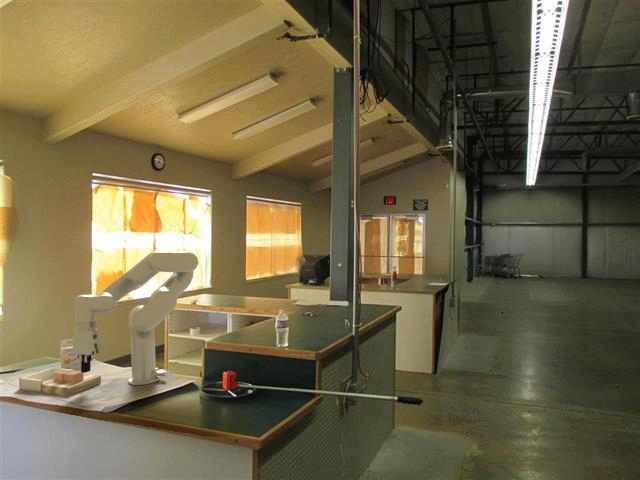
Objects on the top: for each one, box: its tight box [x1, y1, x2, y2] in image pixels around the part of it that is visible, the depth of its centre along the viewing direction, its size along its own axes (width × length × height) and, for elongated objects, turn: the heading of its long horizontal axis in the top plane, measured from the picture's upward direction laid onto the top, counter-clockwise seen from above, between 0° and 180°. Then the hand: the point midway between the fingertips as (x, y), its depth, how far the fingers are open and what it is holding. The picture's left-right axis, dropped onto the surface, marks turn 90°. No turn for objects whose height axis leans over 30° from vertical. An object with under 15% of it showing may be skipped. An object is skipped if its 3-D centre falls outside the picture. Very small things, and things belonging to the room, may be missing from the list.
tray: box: [18, 367, 74, 393], centre depth 206 cm, size 12×16×4 cm
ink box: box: [59, 338, 81, 371], centre depth 223 cm, size 8×5×15 cm, turn 123°
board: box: [40, 373, 102, 397], centre depth 201 cm, size 15×16×3 cm
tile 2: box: [64, 371, 84, 383], centre depth 200 cm, size 5×5×3 cm
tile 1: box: [54, 369, 73, 382], centre depth 202 cm, size 5×5×3 cm
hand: (85, 371), depth 197 cm, fingers closed
